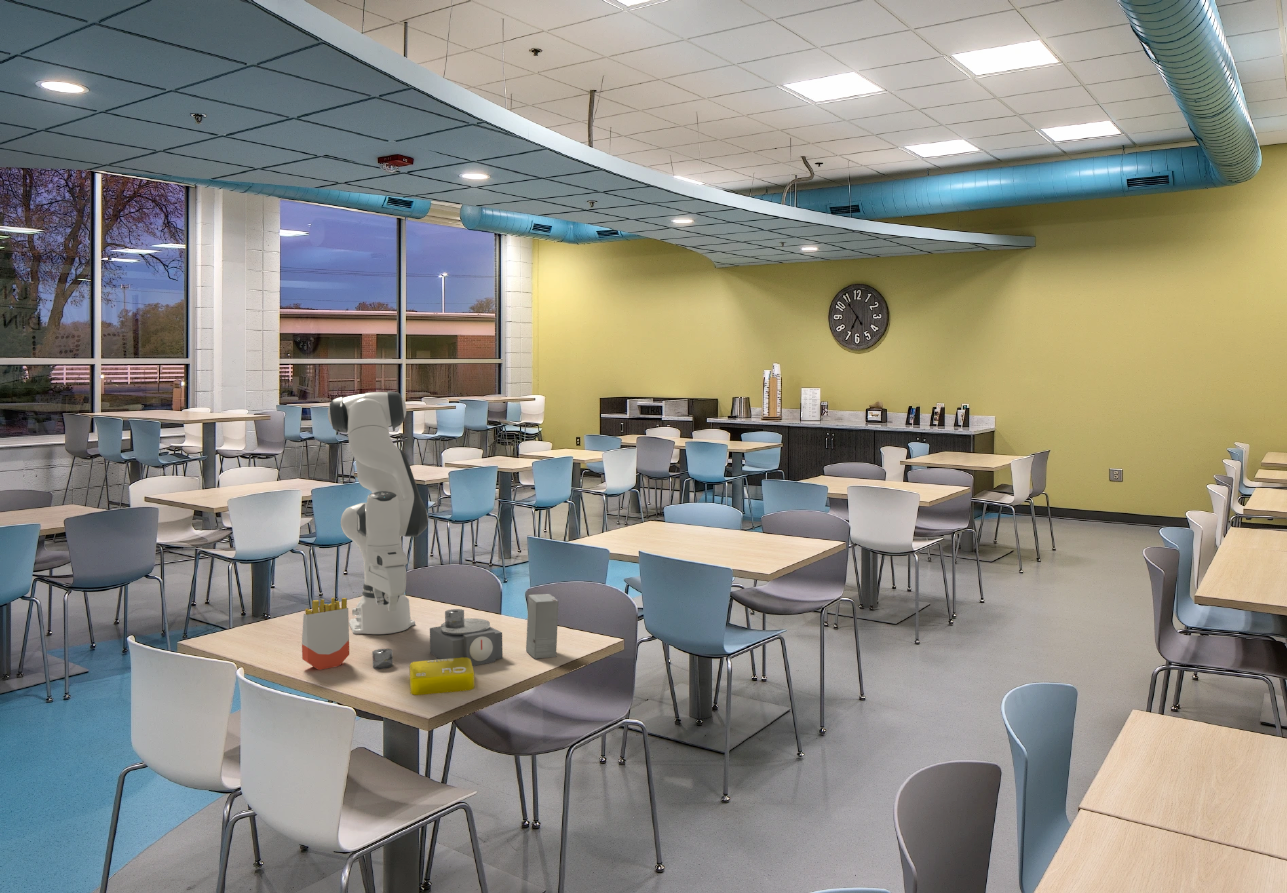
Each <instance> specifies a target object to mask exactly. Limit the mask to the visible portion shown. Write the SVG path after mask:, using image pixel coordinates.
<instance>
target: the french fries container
mask: <svg viewBox="0 0 1287 893" xmlns="http://www.w3.org/2000/svg"><path fill="white" fill-rule="evenodd" d="M311 602H312V604H311V605H312V606H311V609H309V608H305V611H304V612H305V613H303V616H302V634H301V636H302V637H301V653H302V654H301V656H302V657H301V658H302V661H305V662H306V663H307V664H309V665H310V666H312V668H315V669H317V670H319V671H320V670H325V669H326V670H327V669H331V668H335V667H340V666H341V665H342V664H343V662H344V661H345V660H346V659H347V658H348V657H349V656H350V628H349V627H350V624H349V620H350V619H349V608H348V607H347V606H348V598H347V597H343V598H341V606H340V601H339V600H335V597H331V601H330V603H329V604H327V603H325V599H320V601H319V600H318V599H316V600H312V601H311Z"/></svg>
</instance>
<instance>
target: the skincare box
mask: <svg viewBox="0 0 1287 893" xmlns="http://www.w3.org/2000/svg"><path fill="white" fill-rule="evenodd" d="M527 596H528V602H527V621H526V622H527V623H526V624H527V626H526V642H525V643H526V644H525V651H526V652H527V653H528V655H530V656H531V657H532V658H534V659H535V660H536V659H537V660H538V659H546V658H556V657H557V649H558V648H557V646H558V645H557V644H558V643H557V641H558V624H559V623H558V620H559V600H558V599H556V597H555V596H553V595H552V594H551V593H542V594H540V593H539V594H538V593H537V594H536V593H535V594H529V595H527Z"/></svg>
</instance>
